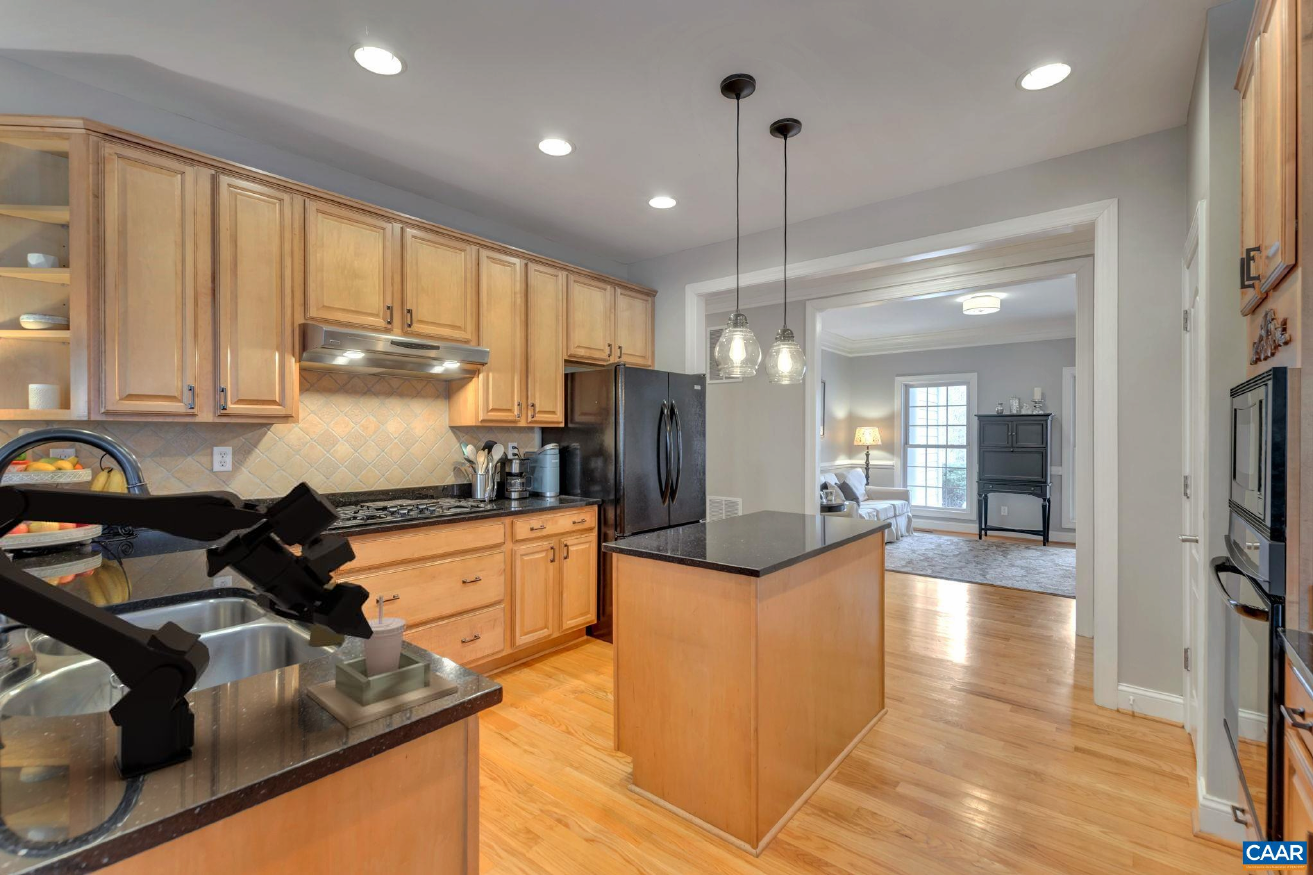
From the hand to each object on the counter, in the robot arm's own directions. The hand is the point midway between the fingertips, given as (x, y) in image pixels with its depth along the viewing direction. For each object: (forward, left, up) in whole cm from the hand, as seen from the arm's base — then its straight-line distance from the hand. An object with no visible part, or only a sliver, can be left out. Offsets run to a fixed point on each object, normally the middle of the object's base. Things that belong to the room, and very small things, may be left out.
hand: (351, 630), depth 87 cm
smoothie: (+5, +1, -10) cm, 11 cm away
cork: (+8, +32, -11) cm, 35 cm away
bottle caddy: (+5, +1, -11) cm, 12 cm away
